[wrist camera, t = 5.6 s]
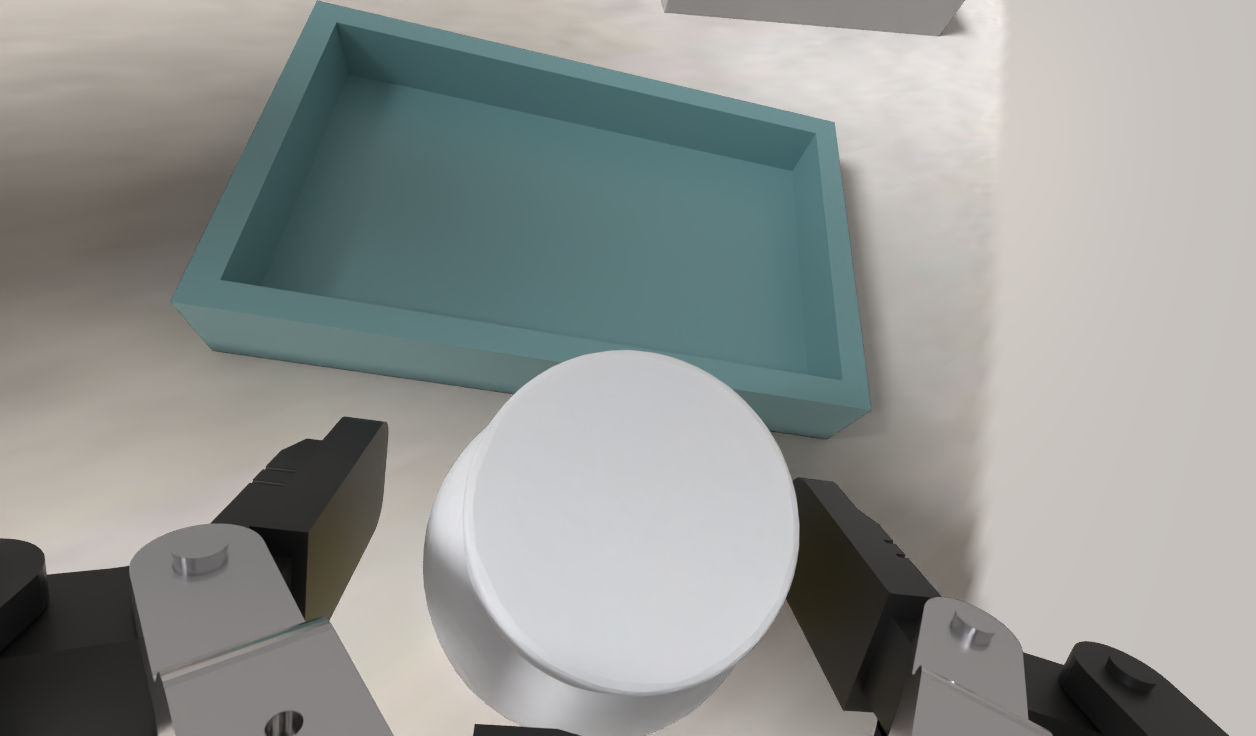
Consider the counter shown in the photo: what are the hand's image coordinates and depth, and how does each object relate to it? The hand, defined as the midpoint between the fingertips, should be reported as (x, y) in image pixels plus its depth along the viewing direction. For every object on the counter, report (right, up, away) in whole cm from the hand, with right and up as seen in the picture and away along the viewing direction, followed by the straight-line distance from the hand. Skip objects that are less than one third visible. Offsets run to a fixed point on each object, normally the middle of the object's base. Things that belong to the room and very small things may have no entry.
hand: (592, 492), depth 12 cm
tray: (-1, +7, +9) cm, 11 cm away
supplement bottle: (-1, -3, +4) cm, 5 cm away
